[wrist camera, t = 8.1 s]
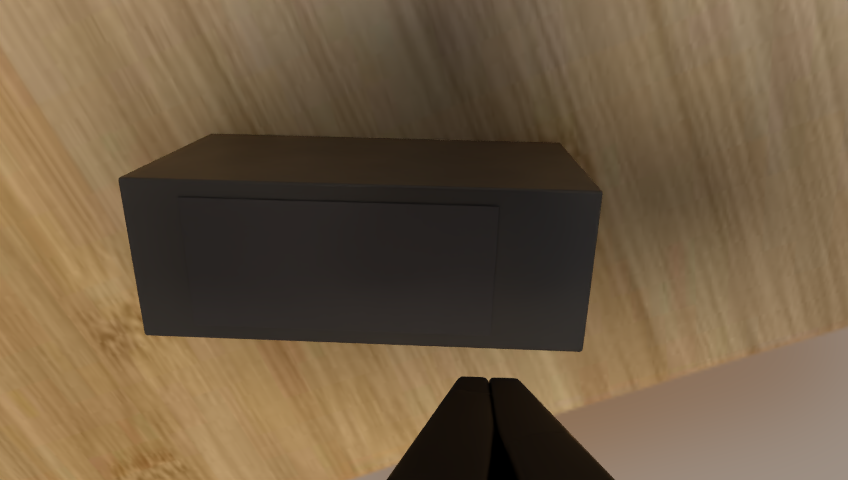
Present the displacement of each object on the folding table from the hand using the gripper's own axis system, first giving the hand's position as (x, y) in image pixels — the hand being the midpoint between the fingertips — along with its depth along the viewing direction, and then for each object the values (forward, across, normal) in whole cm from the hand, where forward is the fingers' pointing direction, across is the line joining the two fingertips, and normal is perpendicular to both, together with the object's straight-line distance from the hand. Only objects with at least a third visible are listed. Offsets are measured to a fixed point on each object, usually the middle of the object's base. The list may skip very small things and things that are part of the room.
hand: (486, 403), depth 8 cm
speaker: (+10, -3, +1) cm, 10 cm away
